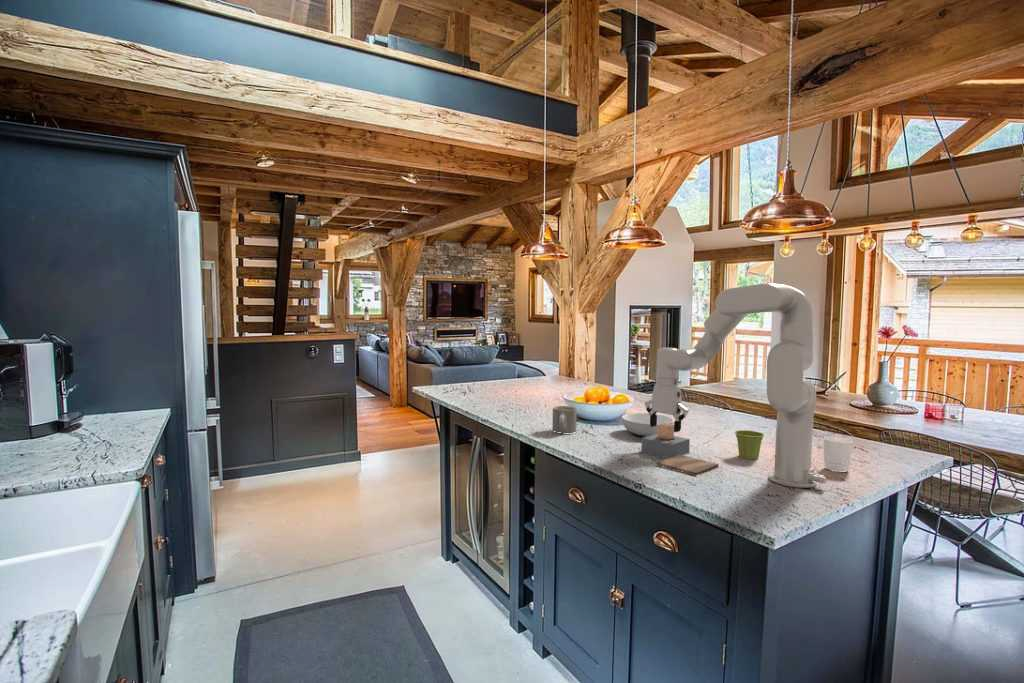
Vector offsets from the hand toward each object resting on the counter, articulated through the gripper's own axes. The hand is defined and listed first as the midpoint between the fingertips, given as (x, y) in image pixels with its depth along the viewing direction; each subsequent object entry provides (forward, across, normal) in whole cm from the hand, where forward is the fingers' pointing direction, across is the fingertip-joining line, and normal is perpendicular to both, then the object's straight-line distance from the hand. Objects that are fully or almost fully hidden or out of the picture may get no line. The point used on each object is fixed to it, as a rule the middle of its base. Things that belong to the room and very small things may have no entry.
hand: (664, 428), depth 182 cm
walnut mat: (+8, -14, +9) cm, 19 cm away
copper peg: (+8, 0, 0) cm, 9 cm away
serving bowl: (+9, +20, -18) cm, 28 cm away
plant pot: (+8, -23, -17) cm, 30 cm away
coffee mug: (+10, +43, +7) cm, 45 cm away
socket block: (+8, 0, 0) cm, 9 cm away
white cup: (+8, -47, -26) cm, 54 cm away
